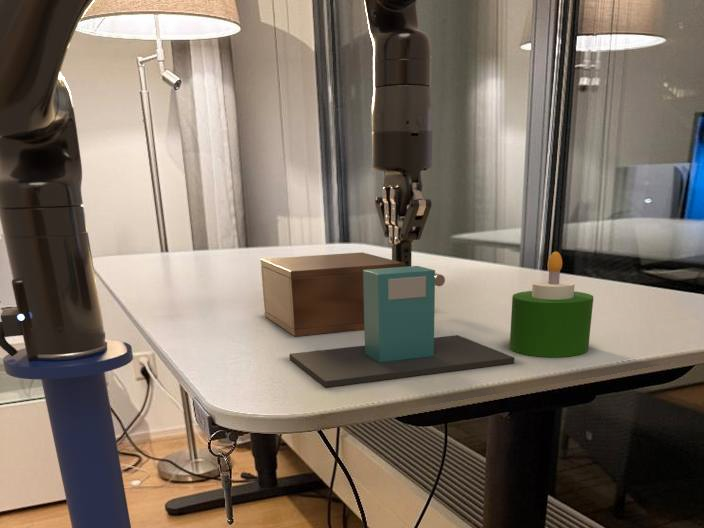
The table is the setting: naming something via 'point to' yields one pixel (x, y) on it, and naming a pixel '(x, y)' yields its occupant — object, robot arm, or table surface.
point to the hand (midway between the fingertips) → (401, 273)
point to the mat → (396, 362)
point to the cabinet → (318, 291)
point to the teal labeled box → (399, 313)
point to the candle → (551, 317)
